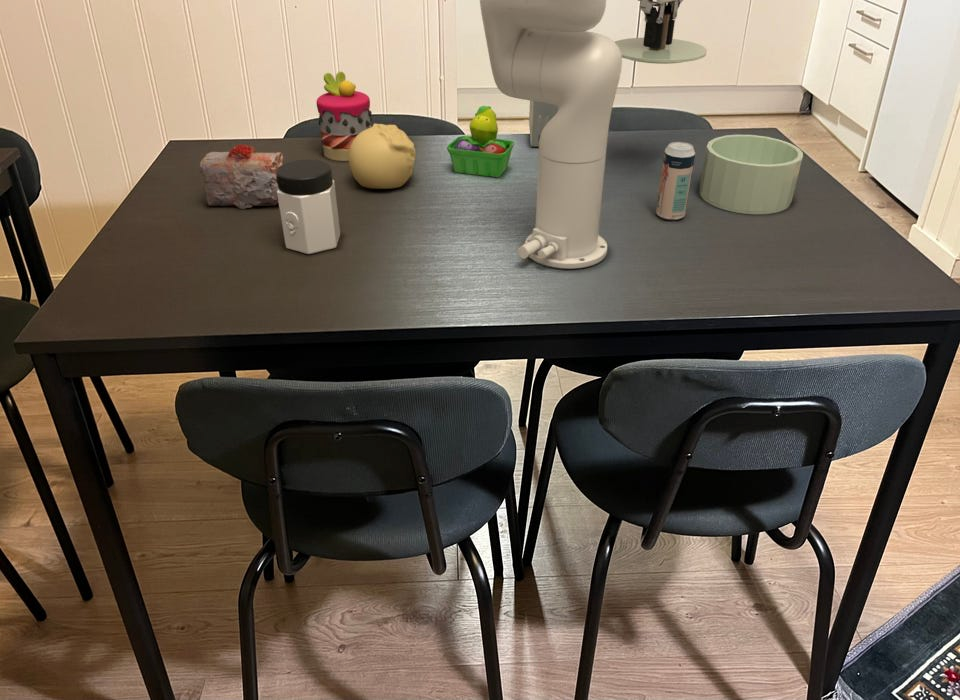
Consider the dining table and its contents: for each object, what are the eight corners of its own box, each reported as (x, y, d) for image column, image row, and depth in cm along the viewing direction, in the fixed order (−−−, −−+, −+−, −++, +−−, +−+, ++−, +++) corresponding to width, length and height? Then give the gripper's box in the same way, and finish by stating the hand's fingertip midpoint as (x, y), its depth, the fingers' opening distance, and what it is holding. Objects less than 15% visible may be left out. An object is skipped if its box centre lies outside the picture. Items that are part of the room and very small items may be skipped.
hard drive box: (568, 148, 154) (574, 45, 143) (530, 148, 154) (534, 45, 143) (562, 124, 167) (568, 28, 156) (528, 124, 167) (531, 28, 156)
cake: (385, 149, 154) (379, 73, 145) (351, 165, 146) (343, 86, 138) (345, 140, 158) (338, 66, 150) (311, 155, 151) (300, 78, 143)
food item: (293, 192, 135) (285, 138, 130) (284, 210, 129) (275, 154, 123) (216, 193, 135) (205, 139, 129) (203, 211, 128) (191, 155, 123)
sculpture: (425, 190, 136) (422, 131, 130) (360, 200, 132) (354, 139, 126) (406, 168, 145) (403, 112, 139) (345, 177, 141) (339, 119, 135)
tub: (769, 222, 124) (781, 173, 120) (683, 198, 133) (691, 151, 128) (804, 194, 134) (816, 147, 130) (722, 173, 143) (731, 128, 138)
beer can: (664, 207, 129) (674, 138, 123) (689, 215, 127) (701, 145, 120) (650, 216, 126) (660, 146, 120) (676, 224, 124) (687, 153, 117)
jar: (274, 246, 117) (261, 172, 111) (308, 226, 123) (298, 155, 117) (319, 259, 114) (308, 183, 107) (352, 238, 120) (344, 165, 113)
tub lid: (675, 72, 121) (681, 28, 118) (589, 55, 130) (592, 14, 127) (722, 53, 132) (729, 12, 128) (639, 39, 141) (643, 1, 137)
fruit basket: (445, 173, 143) (444, 113, 136) (461, 158, 149) (460, 100, 143) (503, 181, 139) (504, 120, 133) (516, 165, 146) (518, 106, 140)
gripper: (676, -82, 127) (661, 34, 137) (624, -75, 117) (613, 50, 127) (717, -79, 123) (699, 40, 133) (668, -72, 113) (652, 57, 123)
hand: (657, 44), depth 130 cm, fingers closed on tub lid, 2 cm apart
